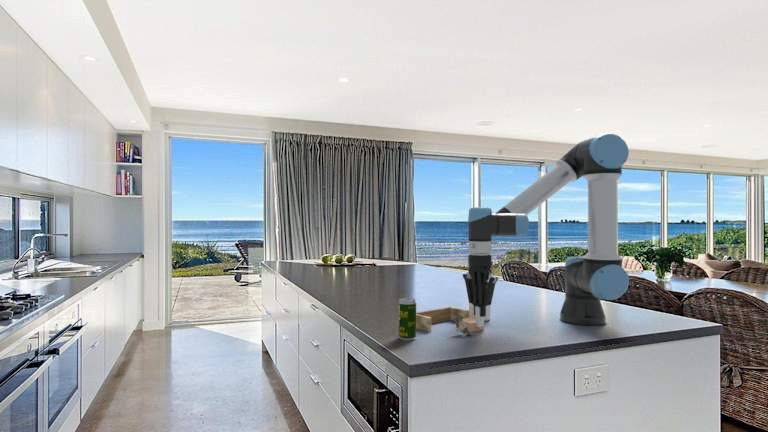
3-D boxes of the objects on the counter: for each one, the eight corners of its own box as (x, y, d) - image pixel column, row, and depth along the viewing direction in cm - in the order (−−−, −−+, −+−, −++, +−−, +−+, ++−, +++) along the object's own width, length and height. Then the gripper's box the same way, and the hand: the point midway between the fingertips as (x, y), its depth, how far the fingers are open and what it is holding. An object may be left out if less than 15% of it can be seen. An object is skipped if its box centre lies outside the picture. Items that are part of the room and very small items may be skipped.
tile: (483, 329, 154) (483, 320, 154) (471, 332, 151) (471, 323, 151) (470, 326, 159) (470, 317, 159) (458, 328, 156) (458, 319, 156)
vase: (448, 334, 147) (449, 315, 148) (459, 333, 151) (460, 314, 151) (462, 337, 143) (462, 318, 144) (472, 336, 147) (473, 317, 147)
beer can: (405, 335, 146) (405, 297, 146) (419, 338, 143) (419, 299, 143) (395, 338, 142) (395, 299, 142) (409, 341, 138) (409, 301, 139)
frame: (469, 323, 163) (469, 310, 163) (428, 331, 151) (428, 318, 151) (450, 318, 170) (450, 306, 170) (409, 326, 158) (409, 313, 158)
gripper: (457, 253, 155) (457, 324, 154) (488, 256, 145) (488, 331, 144) (471, 252, 159) (471, 321, 159) (503, 254, 149) (503, 328, 149)
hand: (479, 326), depth 152 cm, fingers closed
